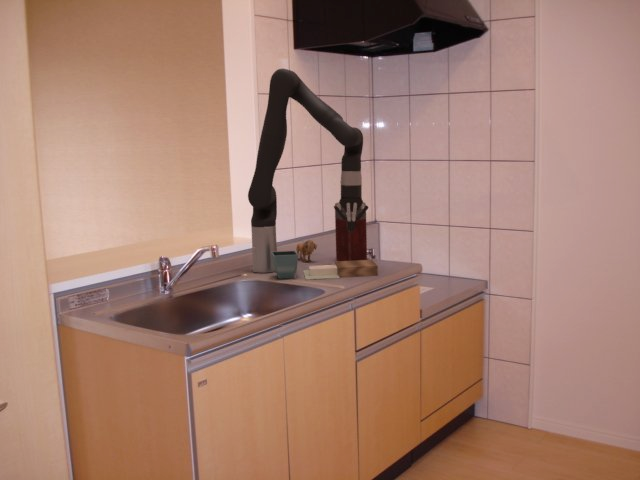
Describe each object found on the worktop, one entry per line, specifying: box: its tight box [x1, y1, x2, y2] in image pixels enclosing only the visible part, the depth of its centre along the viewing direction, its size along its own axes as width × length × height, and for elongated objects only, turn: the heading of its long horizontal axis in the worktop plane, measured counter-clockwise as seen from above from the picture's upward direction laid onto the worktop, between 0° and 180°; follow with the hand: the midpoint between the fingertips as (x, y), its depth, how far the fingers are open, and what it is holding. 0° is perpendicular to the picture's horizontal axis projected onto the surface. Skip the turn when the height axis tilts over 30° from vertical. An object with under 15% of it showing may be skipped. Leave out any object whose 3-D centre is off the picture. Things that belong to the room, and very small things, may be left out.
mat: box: [302, 269, 341, 281], centre depth 263 cm, size 12×16×1 cm
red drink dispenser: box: [334, 201, 368, 261], centre depth 287 cm, size 9×11×28 cm
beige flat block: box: [308, 264, 338, 276], centre depth 263 cm, size 10×6×2 cm, turn 94°
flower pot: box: [271, 250, 299, 280], centre depth 259 cm, size 9×9×9 cm
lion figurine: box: [295, 239, 318, 263], centre depth 291 cm, size 15×5×9 cm, turn 35°
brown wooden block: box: [334, 259, 379, 278], centre depth 264 cm, size 14×12×4 cm
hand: (350, 231), depth 261 cm, fingers closed
